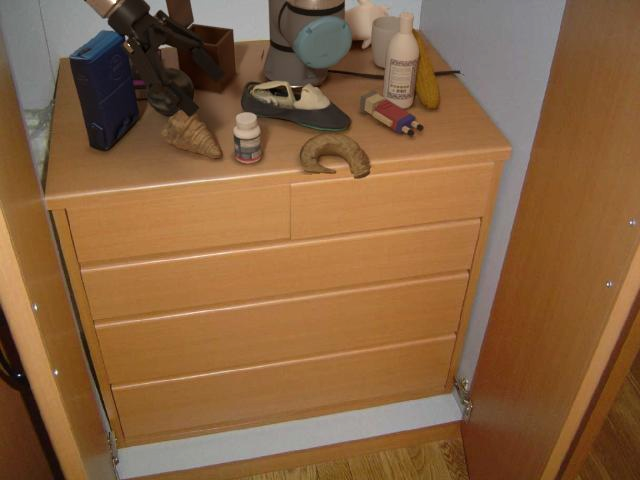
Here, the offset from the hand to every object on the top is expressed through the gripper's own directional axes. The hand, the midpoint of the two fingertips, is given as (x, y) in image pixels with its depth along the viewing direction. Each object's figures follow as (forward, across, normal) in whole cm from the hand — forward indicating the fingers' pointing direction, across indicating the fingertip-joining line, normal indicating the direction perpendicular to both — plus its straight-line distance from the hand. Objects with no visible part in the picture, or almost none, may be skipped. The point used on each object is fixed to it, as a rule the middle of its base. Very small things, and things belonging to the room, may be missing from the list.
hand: (208, 94), depth 124 cm
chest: (+1, -28, -17) cm, 33 cm away
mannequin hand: (+18, -63, +3) cm, 65 cm away
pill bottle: (+14, 0, -4) cm, 15 cm away
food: (+38, -30, +24) cm, 54 cm away
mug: (+28, -46, +11) cm, 55 cm away
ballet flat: (+18, -16, 0) cm, 24 cm away
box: (-11, -23, -30) cm, 39 cm away
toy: (+35, -16, +19) cm, 43 cm away
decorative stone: (-1, -12, -19) cm, 22 cm away
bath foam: (+32, -30, +14) cm, 46 cm away
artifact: (+20, -4, +4) cm, 21 cm away
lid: (-15, -28, -8) cm, 33 cm away
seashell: (+6, 0, -12) cm, 14 cm away
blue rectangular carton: (-6, -1, -24) cm, 25 cm away
